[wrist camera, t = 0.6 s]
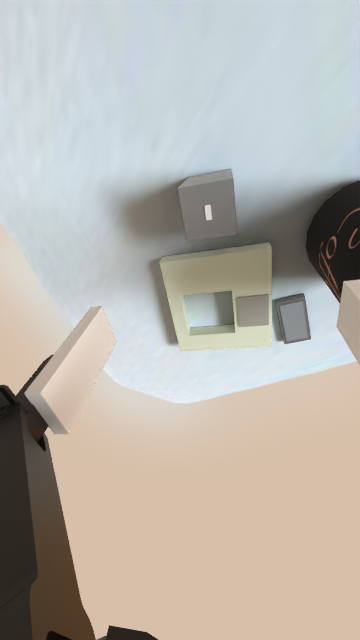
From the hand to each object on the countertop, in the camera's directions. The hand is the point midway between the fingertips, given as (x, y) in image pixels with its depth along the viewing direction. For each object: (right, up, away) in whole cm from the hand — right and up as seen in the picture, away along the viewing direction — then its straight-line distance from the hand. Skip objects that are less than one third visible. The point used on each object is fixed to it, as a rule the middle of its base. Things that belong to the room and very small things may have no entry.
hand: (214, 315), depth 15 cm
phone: (+13, 0, +21) cm, 25 cm away
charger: (+2, +13, +14) cm, 19 cm away
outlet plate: (+3, +2, +21) cm, 21 cm away
